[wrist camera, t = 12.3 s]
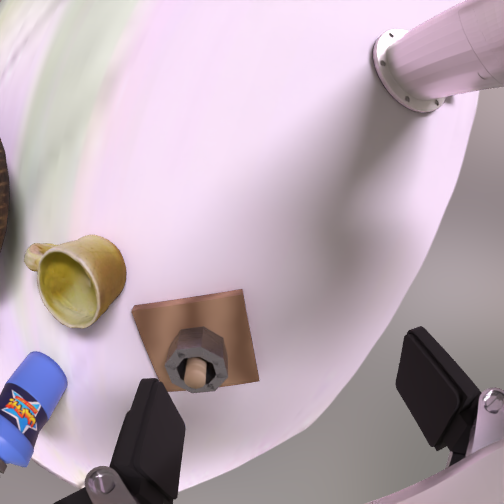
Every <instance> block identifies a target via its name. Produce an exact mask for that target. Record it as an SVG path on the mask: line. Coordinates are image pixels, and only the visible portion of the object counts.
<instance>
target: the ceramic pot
mask: <svg viewBox="0 0 504 504" xmlns="http://www.w3.org/2000/svg"><path fill="white" fill-rule="evenodd" d="M8 206H9V176H8V169H7V163H6V155H5V150H4V148H3V145H2V142H1V139H0V252H1V249H2V245H3V241H4V237H5V233H6V227H7V217H8Z"/></svg>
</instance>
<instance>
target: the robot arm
mask: <svg viewBox="0 0 504 504" xmlns="http://www.w3.org/2000/svg"><path fill="white" fill-rule="evenodd" d="M373 59H374V64H375V68H376V71H377V73H378V76H379V78H380V80H381V81H382V83H383V85H384V86H385V88H386V89H387V91H388V92H389V93H390V94H391V95H392V96H393V97H394V98H395V99H396V100H397V101H398V102H399V103H400V104H402V105H404V106H405V107H407V108H409V109H411V110H413V111H417V112H430V111H434V110H436V109H438V108H439V107H440V106H441V105H442V104H443V102H444V101H445V98H446V97H447V96H451V95H456V94H462V93H467V92H473V91H478V90H484V89H491V88H498V87H504V0H465V1H463V2H462V3H459V4H457V5H455V6H453V7H451V8H449V9H447V10H445V11H444V12H442V13H440V14H438V15H436V16H434V17H433V18H431V19H429V20H427V21H425V22H424V23H422V24H420V25H419V26H417V27H415V28H413V29H412V30H410V31H405V30H400V29H393V30H389V31H386V32H385V33H383V34H382V35H381V36H380V37H379V38H378V39H377V41H376V43H375V45H374V50H373ZM396 388H397V390H398V392H399V393H400V395H401V397H402V398H403V400H404V402H405V403H406V405H407V407H408V408H409V410H410V412H411V414H412V415H413V417H414V419H415V420H416V422H417V424H418V426H419V427H420V429H421V431H422V432H423V434H424V436H425V438H426V439H427V441H428V443H429V445H430V446H431V447H435V449H436V451H438V450H440V449H442V448H444V447H446V446H447V447H448V448H449V450H450V453H449V457H448V461H447V464H446V468H445V470H442V471H441V472H439V473H437V474H435V475H433V476H431V477H429V478H427V479H425V480H423V481H421V482H418V483H416V484H414V485H412V486H409V487H407V488H405V489H403V490H400V491H398V492H395V493H393V494H390V495H388V496H385V497H382V498H380V499H377V500H374V501H371V502H368V503H365V504H504V390H502V389H500V388H496V387H495V388H488V389H486V390H485V391H483V392H482V393H481V392H480V391H479V389H478V388H477V386H476V385H475V384H474V383H473V382H472V380H471V379H470V378H469V377H468V376H467V375H466V373H465V372H464V371H463V370H462V369H461V368H460V367H459V366H458V364H457V363H456V362H455V361H454V360H453V359H452V358H451V357H450V355H449V354H448V353H447V352H446V351H445V350H444V349H443V348H442V347H441V346H440V344H439V343H438V342H437V341H436V340H435V339H434V338H433V337H432V336H431V335H430V334H429V333H428V332H427V330H426V329H425V328H423V327H422V326H420V327H417V328H414V329H411V330H409V331H408V332H407V335H405V336H404V341H403V347H402V353H401V358H400V363H399V369H398V373H397V378H396ZM184 437H185V424H184V422H183V420H182V418H181V416H180V414H179V413H178V411H177V409H176V407H175V405H174V403H173V402H172V400H171V398H170V396H169V394H168V392H167V390H166V388H165V386H164V384H163V382H159V381H158V379H156V378H149V379H141V381H140V384H139V386H138V389H137V392H136V395H135V398H134V401H133V404H132V407H131V410H130V411H128V412H127V414H126V416H125V419H124V422H123V425H122V428H121V431H120V434H119V437H118V441H117V444H116V447H115V450H114V453H113V457H112V460H111V463H110V467H107V466H99V467H96V468H94V469H92V470H91V471H90V472H89V473H88V474H87V476H86V478H85V487H84V488H83V489H81V490H79V491H77V492H75V493H73V494H71V495H69V496H67V497H65V498H63V499H61V500H59V501H57V502H55V503H54V504H173V499H176V498H177V495H178V486H179V477H180V469H181V460H182V452H183V444H184Z"/></svg>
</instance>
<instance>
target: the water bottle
mask: <svg viewBox="0 0 504 504" xmlns="http://www.w3.org/2000/svg"><path fill="white" fill-rule="evenodd" d="M66 388H67V378H66V376H65V374H64V372H63V370H62V369H61V368H60V366H59V365H58V364H57V363H56V362H55V361H54V360H52V359H51V358H50V357H48V356H47V355H45V354H43V353H41V352H37V351H36V352H31V353H30V354H29V355H28V356H27V357H26V358H25V359H24V361H23V362H22V363H21V364H20V366H19V367H18V368H17V369H16V371H15V372H14V373H13V374H12V376H11V377H10V378H9V380H8V381H7V382H6V384H5V386H4V388H3V390H2V392H1V394H0V472H1V473H4V471H5V469H6V467H7V465H6V464H9V463H11V464H14V465H18V466H21V467H27V465H28V463H29V461H30V459H31V457H32V454H33V452H34V446H35V443H36V440H37V437H38V434H39V431H40V430H41V429H42V427H43V426H44V425H45V423H46V422H47V421H48V420H49V418H50V416H51V414H52V413H53V411H54V409H55V407H56V405H57V404H58V402H59V400H60V398H61V396H62V395H63V393H64V391H65V389H66Z"/></svg>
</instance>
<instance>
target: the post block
mask: <svg viewBox="0 0 504 504" xmlns="http://www.w3.org/2000/svg"><path fill="white" fill-rule="evenodd" d="M132 314H133V317H134V319H135V322H136V325H137V328H138V330H139V333H140V335H141V338H142V341H143V343H144V346H145V348H146V351H147V353H148V355H149V358H150V360H151V363H152V365H153V367H154V369H155V372H156V374H157V376H158V378H159V381H160V382H163V384H164V386H165V388H166V390H167V392H172V391H186V390H185V389H183V388H181V387H179V386H177V385H175V384H173V383H172V382H171V380H170V378H169V375H168V373H167V370H166V368H165V361H166V358H167V354H168V350H169V347H170V344H171V342H172V341H173V340H174V338H175V337H176V336H177V334H178V333H179V331H180V330H181V329H187V328H195V327H202V326H204V327H206V328H207V329H209V330H211V331H213V332H214V333H216V334H218V335H220V336H221V337H223V339H224V343H225V347H226V351H227V355H228V378H227V379H226V380H225V381H224V382H223V383H222V384H221V385H220V386H219V387H224V386H231V385H238V384H245V383H251V382H257V381H259V375H258V370H257V365H256V360H255V355H254V349H253V344H252V339H251V334H250V328H249V323H248V318H247V312H246V307H245V301H244V296H243V291H242V289H239V290H233V291H227V292H221V293H215V294H209V295H203V296H196V297H190V298H183V299H177V300H170V301H163V302H156V303H149V304H141V305H135V306H134V307H133V309H132ZM186 359H187V365H186V371H185V377H184V382H185V384H186V385H187V386H189V387H191V388H195V389H197V388H201V387H203V386H204V385H205V381H206V366H207V362H208V361H207V360H205V359H203V358H201V357H192V358H186Z"/></svg>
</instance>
